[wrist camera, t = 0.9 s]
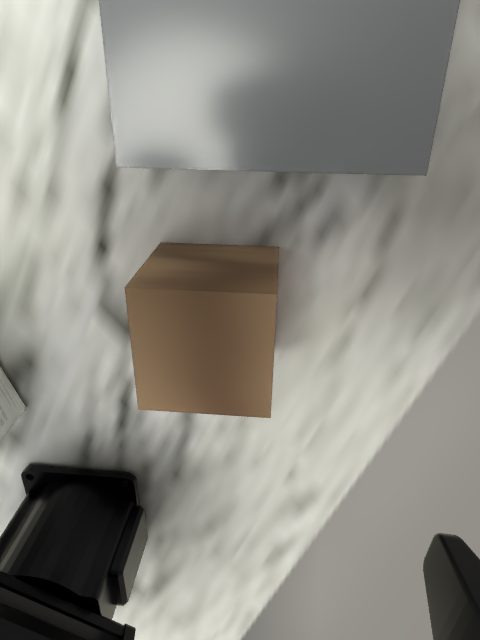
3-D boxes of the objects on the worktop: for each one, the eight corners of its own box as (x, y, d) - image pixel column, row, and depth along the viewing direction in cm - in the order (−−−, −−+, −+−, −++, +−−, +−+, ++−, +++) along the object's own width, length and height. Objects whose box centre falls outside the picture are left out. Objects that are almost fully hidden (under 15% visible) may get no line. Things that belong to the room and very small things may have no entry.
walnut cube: (168, 343, 22) (138, 409, 17) (161, 241, 19) (125, 287, 15) (273, 349, 21) (270, 418, 17) (278, 246, 19) (277, 294, 15)
